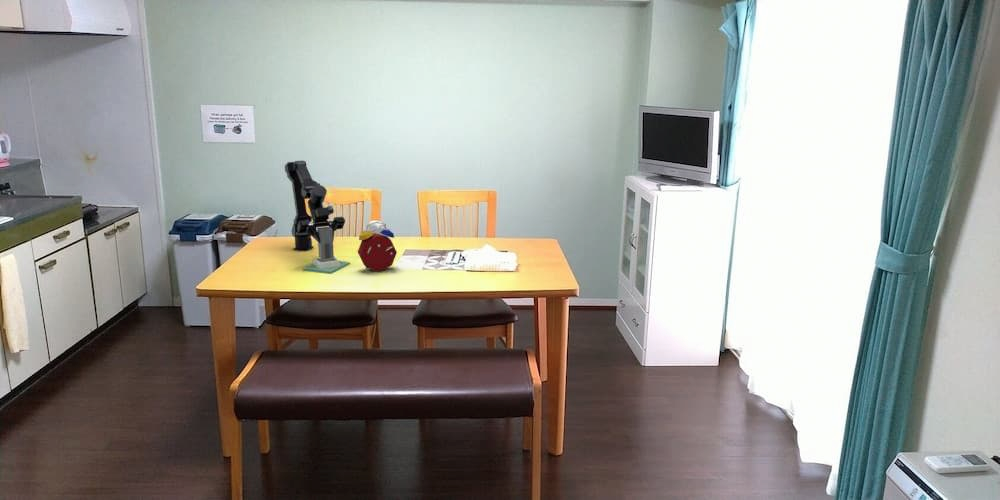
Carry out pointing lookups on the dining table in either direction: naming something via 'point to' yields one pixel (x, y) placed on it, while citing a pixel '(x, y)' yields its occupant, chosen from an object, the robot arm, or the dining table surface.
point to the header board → (329, 270)
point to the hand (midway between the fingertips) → (326, 242)
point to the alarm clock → (377, 249)
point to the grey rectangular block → (325, 242)
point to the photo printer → (376, 227)
